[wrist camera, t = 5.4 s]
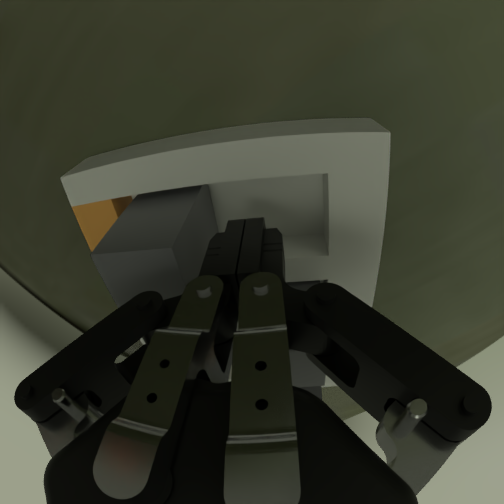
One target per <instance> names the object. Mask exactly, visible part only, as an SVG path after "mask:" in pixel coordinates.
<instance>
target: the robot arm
mask: <svg viewBox="0 0 504 504" xmlns="http://www.w3.org/2000/svg"><path fill="white" fill-rule="evenodd" d="M237 324H238V331H236V330H237ZM141 338H143V340H144V342H145V343H146V344H144V345H143V346H142V347H140V348H139V349H138V350H137V351H135V352H134V353H133V354H132V355H130V356H129V357H128V358H126V359H125V360H124V361H122V362H121V363H117V364H116V363H114V362H115V359H116V358H117V356H119V355H120V354H121V353H123V352H124V351H125V350H126V349H128V348H129V347H130V346H132V345H133V344H134V343H136V342H137V341H138V340H139V339H141ZM289 349H292V350H296V351H300V352H305V353H306V356H307V357H308V359H309V360H310V361H311V362H312V363H313V364H315V365H316V366H317V367H318V368H319V369H320V370H321V371H322V372H323V373H324V374H325V375H327V376H328V377H329V378H330V379H331V380H332V381H333V382H334V383H335V384H336V385H338V386H339V387H340V388H341V389H342V390H343V391H344V392H345V393H346V394H348V395H349V396H350V397H351V398H352V399H353V400H354V401H355V402H357V403H358V404H359V405H360V406H361V407H362V408H363V409H364V410H366V411H367V412H368V413H369V414H370V415H371V416H373V417H374V418H375V419H376V420H377V421H378V422H379V425H378V427H377V429H376V440H377V443H378V445H379V446H380V447H381V448H382V450H383V451H384V453H385V455H386V458H387V464H386V463H385V462H384V461H383V460H382V459H381V458H380V457H379V456H377V454H376V453H375V452H373V451H372V450H371V449H370V448H369V447H368V446H367V445H366V444H365V443H364V442H363V441H362V440H361V439H360V438H359V437H358V436H357V435H356V434H355V433H354V432H353V431H352V430H351V429H350V428H349V427H348V426H347V425H346V424H345V423H344V422H343V421H342V420H341V419H340V418H339V417H338V416H337V415H336V414H335V413H334V412H333V411H332V410H331V409H330V408H329V406H328V405H327V404H326V403H324V402H323V401H322V400H321V399H320V398H318V397H317V396H316V395H314V394H312V393H311V392H309V391H307V390H304V389H302V388H299V387H296V386H292V376H291V366H290V356H289ZM231 365H232V373H231V381H229V374H230V370H231ZM14 400H15V404H16V406H17V407H18V408H19V409H21V410H22V411H23V412H24V413H25V414H27V415H28V416H29V417H30V418H31V419H32V420H33V421H34V422H36V424H37V425H38V428H39V431H40V433H41V435H42V438H43V440H44V442H45V444H46V446H47V449H48V451H49V453H50V455H51V457H52V459H51V460H50V461H49V463H48V465H47V467H46V471H45V474H44V489H45V494H46V500H47V504H418V501H417V498H416V495H417V494H418V493H419V492H420V491H421V489H422V488H423V487H424V486H425V485H426V484H427V483H428V482H429V481H430V479H431V478H432V477H433V476H434V475H435V474H436V472H437V471H438V470H439V469H440V468H441V466H442V465H443V464H444V463H445V461H446V460H447V459H448V457H449V456H450V455H451V454H452V452H453V451H454V450H455V448H456V447H457V446H458V445H459V444H460V443H462V442H463V441H464V440H466V439H467V438H468V437H469V436H471V435H472V434H473V433H474V432H476V431H477V430H478V429H479V428H480V427H481V426H483V425H484V424H485V423H486V421H487V420H488V418H489V416H490V413H491V408H492V405H491V399H490V396H489V394H488V393H487V391H486V390H485V389H484V388H483V387H482V386H480V385H479V384H478V383H476V382H475V381H473V380H472V379H471V378H470V377H468V376H467V375H466V374H464V373H463V372H461V371H460V370H459V369H457V368H456V367H455V366H453V365H452V364H450V363H449V362H448V361H446V360H445V359H444V358H442V357H441V356H439V355H438V354H437V353H435V352H434V351H432V350H431V349H430V348H428V347H427V346H425V345H424V344H423V343H421V342H420V341H418V340H417V339H416V338H414V337H413V336H411V335H410V334H409V333H407V332H406V331H404V330H403V329H402V328H400V327H399V326H397V325H396V324H394V323H393V322H392V321H390V320H389V319H387V318H386V317H384V316H383V315H382V314H380V313H379V312H377V311H376V310H374V309H373V308H372V307H370V306H369V305H367V304H366V303H364V302H363V301H361V300H360V299H359V298H357V297H356V296H354V295H353V294H351V293H350V292H348V291H347V290H346V289H344V288H343V287H341V286H339V285H337V284H334V283H328V282H324V283H318V284H315V285H313V286H311V287H310V288H309V289H308V290H307V291H302V290H298V289H295V288H292V287H291V286H289V285H288V284H287V283H286V282H285V257H284V247H283V237H282V234H281V232H280V231H279V230H278V228H268V229H266V226H265V219H264V217H258V218H247V219H236V220H228V222H227V225H226V229H225V232H221V233H216V234H215V235H214V236H213V237H212V238H211V240H210V241H209V244H208V247H207V251H206V254H205V257H204V260H203V263H202V266H201V270H200V273H199V276H198V277H197V278H195V279H193V280H192V281H190V282H189V283H188V284H187V285H186V287H185V289H184V292H183V294H182V295H179V296H176V297H172V298H169V299H165V300H163V298H162V296H161V294H160V293H158V292H156V291H145V292H142V293H139V294H138V295H136V296H134V297H133V298H132V299H130V300H129V301H128V302H126V303H125V304H123V305H122V306H121V307H119V308H118V309H116V310H115V311H114V312H112V313H111V314H110V315H108V316H107V317H106V318H104V319H103V320H101V321H100V322H99V323H97V324H96V325H95V326H93V327H92V328H91V329H89V330H88V331H87V332H85V333H84V334H83V335H81V336H80V337H79V338H77V339H76V340H75V341H73V342H72V343H71V344H69V345H68V346H67V347H65V348H64V349H63V350H61V351H60V352H59V353H57V354H56V355H55V356H53V357H52V358H51V359H50V360H48V361H47V362H46V363H44V364H43V365H42V366H40V367H39V368H38V369H37V370H35V371H34V372H33V373H31V374H30V375H29V376H28V377H26V378H25V379H24V380H23V381H22V382H21V383H20V384H19V385H18V387H17V389H16V391H15V396H14Z"/></svg>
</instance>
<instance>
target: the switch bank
mask: <svg viewBox="0 0 504 504" xmlns="http://www.w3.org/2000/svg"><path fill="white" fill-rule="evenodd" d="M389 163H390V132H389V131H388V130H387V129H385V128H384V127H383V126H381V125H380V124H378V123H377V122H376V121H374V120H373V119H372V118H326V119H306V120H291V121H279V122H268V123H259V124H250V125H241V126H234V127H226V128H219V129H213V130H207V131H200V132H195V133H189V134H183V135H178V136H173V137H168V138H163V139H158V140H154V141H149V142H145V143H140V144H136V145H132V146H128V147H124V148H120V149H116V150H112V151H108V152H105V153H101V154H98V155H94V156H91V157H88V158H86V159H85V160H83V161H82V162H81V163H79V164H78V165H76V166H75V167H74V168H72V169H71V170H70V171H68V172H67V173H66V174H64V175H63V176H62V177H61V181H62V184H63V186H64V189H65V192H66V194H67V197H68V199H69V202H70V204H71V207H72V209H73V212H74V214H75V216H76V219H77V221H78V223H79V226H80V228H81V230H82V232H83V234H84V237H85V239H86V241H87V243H88V245H89V247H90V250H91V252H92V251H93V250H94V249H95V247H96V246H97V245H98V243H99V242H100V241H101V239H102V238H103V237H104V235H105V234H106V233H107V231H108V230H109V229H110V228H111V226H112V225H113V224H114V223H115V221H116V220H117V219H118V218H119V216H120V215H121V214H122V213H123V211H124V210H125V209H126V208H127V206H128V205H129V204H130V203H131V202H132V200H133V199H134V198H135V197H136V196H137V195H138V194H143V193H149V192H155V191H161V190H168V189H175V188H182V187H189V186H197V185H204V184H208V186H209V191H210V195H211V200H212V204H213V209H214V213H215V218H216V222H217V226H218V231H219V233H221V232H225V229H226V225H227V222H228V220H236V219H247V218H258V217H264V219H265V226H266V229H268V228H278V230H279V231H280V232H281V234H282V237H283V247H284V257H285V282H299V281H314V280H320V283H324V282H328V283H334V284H337V285H339V286H341V287H343V288H344V289H346V290H347V291H348V292H350V293H351V294H353V295H354V296H356V297H357V298H359V299H360V300H361V301H363V302H364V303H366V304H367V305H369V306H370V307H372V305H373V299H374V294H375V288H376V283H377V277H378V270H379V264H380V257H381V250H382V243H383V235H384V226H385V217H386V206H387V195H388V181H389ZM236 331H238V324H237V330H236ZM140 341H141V342H142V344H143V345H144V344H146V343H145V342H144V340H143V338H141V339H140ZM231 373H232V365H231V370H230V374H229V381H231ZM330 386H338V385H336V384H335V383H334V382H333V381H332V380H331V379H330V378H329V377H328V376H327V375H326V377H325V385H324V386H321V387H330Z"/></svg>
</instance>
